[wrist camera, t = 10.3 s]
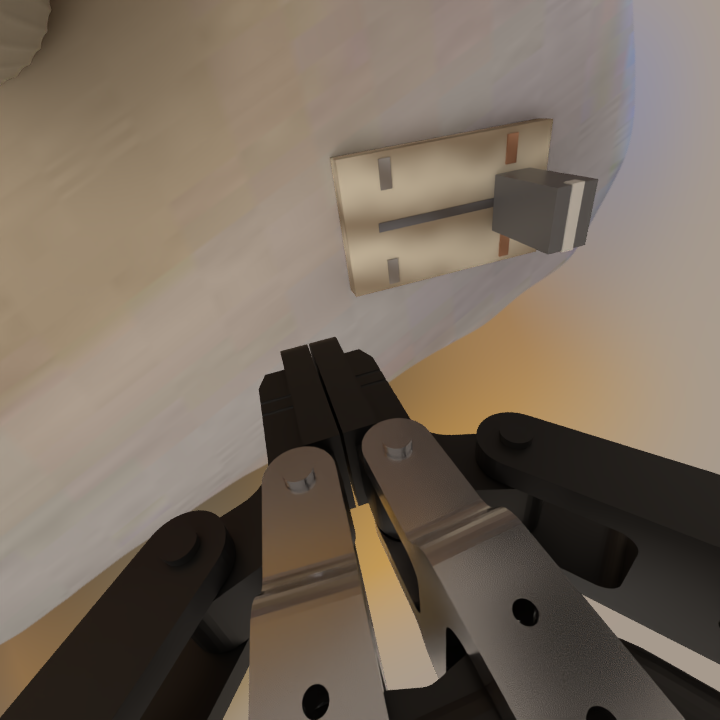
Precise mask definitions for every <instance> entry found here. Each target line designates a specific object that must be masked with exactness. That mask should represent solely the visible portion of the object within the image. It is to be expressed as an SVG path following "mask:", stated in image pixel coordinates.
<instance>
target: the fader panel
mask: <svg viewBox="0 0 720 720" xmlns="http://www.w3.org/2000/svg"><path fill="white" fill-rule="evenodd" d="M552 123H553V119H533V120H528V121H523V122H517V123H512V124H507V125H501V126H496V127H491V128H486V129H480V130H475V131H470V132H464V133H459V134H454V135H448V136H443V137H438V138H432V139H427V140H422V141H417V142H411V143H406V144H401V145H395V146H390V147H385V148H379V149H374V150H369V151H364V152H358V153H353V154H348V155H342V156H337V157H332V158H330V161H331V167H332V174H333V180H334V186H335V193H336V199H337V205H338V212H339V218H340V224H341V231H342V237H343V243H344V250H345V256H346V262H347V269H348V275H349V281H350V288H351V290H352V292H353V293H354V294H355V296H356V297H358V296H362V295H366V294H370V293H373V292H377V291H381V290H385V289H389V288H393V287H397V286H401V285H405V284H409V283H413V282H417V281H421V280H425V279H429V278H433V277H436V276H440V275H444V274H448V273H452V272H456V271H460V270H464V269H468V268H472V267H476V266H480V265H484V264H488V263H492V262H495V261H499V260H503V259H507V258H511V257H515V256H519V255H523V254H527V253H531V252H535V251H536V249H534V248H532V247H529V246H527V245H525V244H522V243H520V242H518V241H515V240H513V239H511V238H508V237H506V236H504V235H501V234H499V233H497V232H494V231H492V221H493V204H494V188H495V175H496V174H501V173H505V172H510V171H515V170H520V169H524V168H529V167H530V168H536V169H541V170H546V169H547V162H548V154H549V146H550V138H551V131H552Z"/></svg>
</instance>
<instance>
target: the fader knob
mask: <svg viewBox="0 0 720 720" xmlns="http://www.w3.org/2000/svg"><path fill="white" fill-rule="evenodd" d="M597 182H598V179H594V178H588V177H582V176H577V175H571V174H565V173H559V172H553V171H547V170H541V169H536V168H530V167H529V168H524V169H520V170H515V171H510V172H505V173H501V174H496V175H495V188H494V204H493V221H492V231H494V232H497V233H499V234H501V235H504V236H506V237H508V238H511V239H513V240H515V241H518V242H520V243H522V244H525V245H527V246H529V247H532V248H534V249H536V250H539V251H541V252H543V253H546V254H552V253H555V252H566V251H570V250H573V248H575V247H579V246H582V245H585V242H586V237H587V232H588V227H589V222H590V217H591V212H592V207H593V202H594V197H595V192H596V187H597Z"/></svg>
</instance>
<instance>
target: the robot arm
mask: <svg viewBox="0 0 720 720" xmlns="http://www.w3.org/2000/svg"><path fill="white" fill-rule="evenodd" d="M309 347H310V351H311V354H310V351H309V348H308V346H307V344H306V345H302V346H299V347H295V348H291V349H287V350H284V351H280V352H281V357H282V361H283V365H284V369H285V370H282V371H278V372H275V373H271V374H267V375H265V377H264V379H263V381H262V383H261V385H260V388H259V395H260V402H261V410H262V416H263V417H262V418H263V426H264V433H265V441H266V449H267V457H268V467H267V469H266V471H265V473H264V476H263V479H262V485H261V486H260V487H259V489H258V490H257V491H256V492H255V493H254V494H253V495H252V496H251V497H250V498H249V499H248V500H247V501H245V502H243V503H242V504H241V505H239V506H237V507H236V508H234V509H233V510H231V511H230V512H228V513H227V514H225V515H223V516H222V517H220V518H219V517H218V516H217V515H216V514H214V513H212V512H208V511H199V510H198V511H191V512H187V513H184V514H182V515H179V516H177V517H175V518H173V519H171V520H170V521H168V522H167V523H166V524H164V525H163V526H162V527H161V528H159V529H158V530H157V531H156V532H155V533H154V534H153V535H152V536H151V538H150V539H149V540H148V541H147V542H146V544H145V545H144V546H143V547H142V548H141V550H140V551H139V552H138V553H137V554H136V556H135V557H134V558H133V559H132V560H131V562H130V563H129V564H128V565H127V567H126V568H125V569H124V570H123V571H122V572H121V574H120V575H119V576H118V577H117V578H116V580H115V581H114V582H113V583H112V585H111V586H110V587H109V588H108V589H107V590H106V592H105V593H104V594H103V595H102V596H101V598H100V599H99V600H98V601H97V602H96V604H95V605H94V606H93V607H92V608H91V610H90V611H89V612H88V613H87V615H86V616H85V617H84V618H83V619H82V620H81V622H80V623H79V624H78V625H77V626H76V628H75V629H74V630H73V631H72V632H71V633H70V635H69V636H68V637H67V638H66V640H65V641H64V642H63V643H62V644H61V646H60V647H59V648H58V649H57V650H56V651H55V653H54V654H53V655H52V656H51V658H50V659H49V660H48V661H47V662H46V664H45V665H44V666H43V667H42V668H41V669H40V671H39V672H38V673H37V674H36V676H35V677H34V678H33V679H32V680H31V681H30V683H29V684H28V685H27V686H26V687H25V689H24V690H23V691H22V692H21V693H20V695H19V696H18V697H17V698H16V699H15V701H14V702H13V703H12V704H11V705H10V707H9V708H8V709H7V710H6V711H5V713H4V714H3V715H2V716H1V718H0V720H223V717H224V715H225V713H226V711H227V709H228V707H229V705H230V703H231V701H232V699H233V697H234V695H235V693H236V691H237V689H238V687H239V685H240V683H241V681H242V679H243V677H244V675H245V673H246V671H247V669H248V667H249V720H720V692H719V691H717V690H715V689H714V688H712V687H710V686H708V685H707V684H705V683H703V682H701V681H699V680H698V679H696V678H694V677H692V676H691V675H689V674H687V673H685V672H684V671H682V670H680V669H678V668H677V667H675V666H673V665H671V664H669V663H668V662H666V661H664V660H663V659H661V658H659V657H657V656H655V655H654V654H652V653H650V652H648V651H646V650H644V649H643V648H641V647H639V646H636V645H634V644H632V643H629V642H627V641H625V640H623V639H620V638H617V636H616V635H615V634H614V633H613V632H612V630H610V628H609V627H608V626H607V624H606V623H605V622H604V621H603V620H602V618H601V617H600V616H599V615H598V614H597V612H596V611H595V610H594V609H593V607H592V606H591V605H590V604H589V603H588V602H587V600H586V599H585V598H584V597H583V595H585V596H587V597H589V598H590V599H593V600H594V601H596V602H598V603H600V604H602V605H604V606H606V607H608V608H610V609H612V610H614V611H616V612H618V613H620V614H622V615H624V616H626V617H628V618H630V619H632V620H634V621H636V622H638V623H640V624H642V625H644V626H646V627H647V628H649V629H651V630H653V631H655V632H657V633H659V634H661V635H663V636H665V637H667V638H669V639H671V640H673V641H675V642H677V643H679V644H681V645H683V646H685V647H687V648H689V649H691V650H693V651H695V652H697V653H698V654H700V655H702V656H704V657H706V658H708V659H710V660H712V661H714V662H716V663H718V664H720V475H718V474H715V473H712V472H709V471H706V470H703V469H699V468H696V467H693V466H690V465H686V464H683V463H680V462H677V461H673V460H670V459H667V458H663V457H661V456H657V455H654V454H651V453H648V452H644V451H641V450H638V449H634V448H631V447H628V446H625V445H622V444H619V443H615V442H612V441H609V440H606V439H602V438H599V437H596V436H592V435H589V434H586V433H582V432H579V431H576V430H573V429H570V428H566V427H564V426H560V425H557V424H554V423H551V422H547V421H544V420H541V419H538V418H534V417H531V416H528V415H524V414H520V413H513V412H510V413H509V412H505V413H498V414H494V415H492V416H489V417H488V418H486V419H485V420H483V422H481V424H480V425H479V427H478V429H477V434H464V435H440V434H435V433H431V432H429V431H428V430H427V428H426V427H424V426H423V425H422V424H420V423H418V422H416V421H413V420H411V419H410V418H409V416H408V414H407V413H406V411H405V410H404V408H403V406H402V405H401V403H400V401H399V400H398V398H397V396H396V395H395V393H394V392H393V390H392V388H391V387H390V385H389V383H388V382H387V381H386V378H385V377H384V375H383V373H382V372H381V371H380V369H379V367H378V365H377V364H376V362H375V360H374V359H373V357H371V356H370V355H368V354H366V353H365V352H363V351H361V350H360V349H358V350H354V351H351V352H347V353H344V352H343V350H342V348H341V346H340V344H339V342H338V340H337V338H336V337H332V338H328V339H325V340H321V341H317V342H313V343H310V344H309ZM311 356H312V357H311ZM350 482H351V483H350ZM351 485H352V488H353V491H354V494H355V497H356V500H357V502H358V505H359V506H360V505H363V504H366V503H369V505H370V508H371V511H372V513H373V516H374V519H375V524H376V530H377V534H378V537H379V539H380V541H381V543H382V545H383V547H384V549H385V552H386V554H387V556H388V558H389V561H390V563H391V565H392V567H393V569H394V571H395V574H396V576H397V578H398V580H399V582H400V585H401V587H402V589H403V591H404V593H405V596H406V598H407V600H408V602H409V604H410V606H411V609H412V611H413V613H414V615H415V618H416V620H417V622H418V625H419V628H420V630H421V634H422V637H423V640H424V643H425V646H426V649H427V652H428V654H429V657H430V659H431V662H432V664H433V667H434V669H435V671H436V674H437V676H438V678H439V679H438V680H437V681H436V682H435V683H433V684H432V685H430V686H427V687H423V688H411V689H399V690H387V685H386V680H385V677H384V672H383V668H382V663H381V658H380V655H379V650H378V646H377V642H376V637H375V632H374V628H373V623H372V619H371V614H370V610H369V605H368V601H367V596H366V591H365V587H364V583H363V578H362V573H361V569H360V565H359V560H358V555H357V551H356V546H355V539H356V537H355V529H354V525H353V521H352V517H351V512H350V509H352V508H355V507H356V505H355V501H354V497H353V492H352V488H351ZM582 594H583V595H582Z"/></svg>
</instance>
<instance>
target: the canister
mask: <svg viewBox="0 0 720 720" xmlns="http://www.w3.org/2000/svg"><path fill="white" fill-rule="evenodd" d="M50 12H51V7H50V0H0V86H1V85H2V84H3V83H4V82H5V81H6V80H8V79H12V78H15V77H17V76H18V75H19V73H20V71H21V70H22V69H23V68H24V67H25V66H28V65H30V64H31V62H32V58H33V56H34V55H35V54H36V52H37V51H39V50H40V49H41V42H42V39H43V37H44V35H45V34H46V33H47V31H48V28H47V23H48V17H49V14H50Z"/></svg>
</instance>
